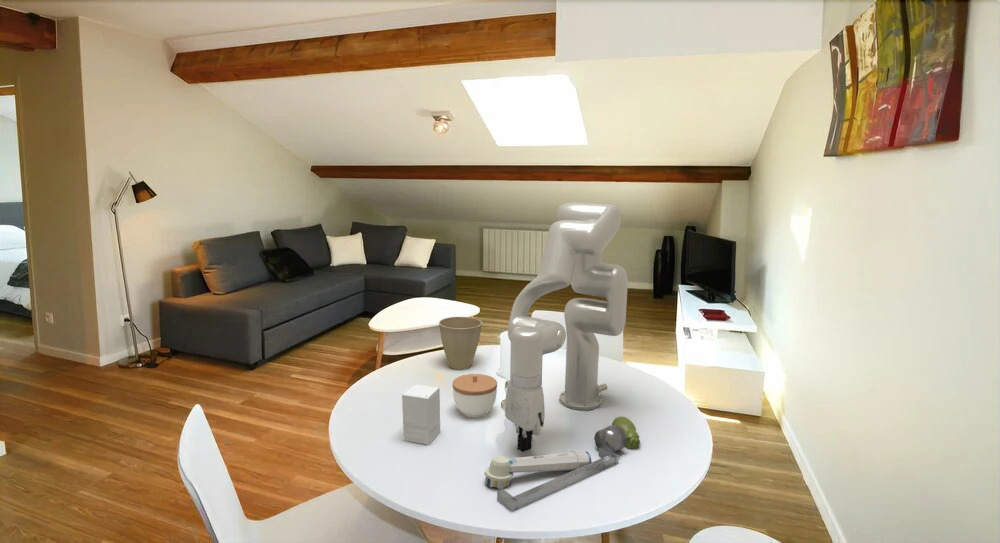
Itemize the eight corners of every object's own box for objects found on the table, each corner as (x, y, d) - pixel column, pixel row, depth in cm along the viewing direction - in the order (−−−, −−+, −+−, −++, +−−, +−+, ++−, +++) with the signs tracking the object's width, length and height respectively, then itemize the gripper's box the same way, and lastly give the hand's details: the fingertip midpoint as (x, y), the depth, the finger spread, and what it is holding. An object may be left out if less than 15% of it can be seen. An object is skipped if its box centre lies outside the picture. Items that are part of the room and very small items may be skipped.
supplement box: (441, 432, 142) (440, 387, 139) (428, 445, 135) (427, 398, 132) (416, 427, 144) (415, 383, 142) (402, 440, 137) (401, 394, 135)
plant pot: (464, 377, 179) (464, 331, 176) (430, 367, 187) (429, 323, 184) (490, 364, 191) (490, 320, 188) (456, 355, 199) (456, 314, 196)
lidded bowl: (476, 398, 162) (476, 364, 160) (506, 412, 153) (506, 376, 151) (443, 411, 154) (443, 375, 151) (472, 426, 145) (473, 388, 143)
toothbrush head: (594, 457, 123) (492, 461, 115) (589, 484, 124) (487, 490, 115) (583, 446, 128) (484, 449, 119) (578, 472, 129) (480, 477, 120)
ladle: (607, 443, 137) (608, 421, 136) (632, 456, 131) (633, 433, 130) (488, 492, 116) (489, 467, 114) (511, 511, 109) (512, 485, 108)
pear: (628, 411, 143) (647, 435, 134) (625, 428, 145) (644, 452, 136) (609, 413, 141) (627, 437, 132) (606, 430, 143) (624, 455, 134)
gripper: (494, 372, 131) (494, 441, 135) (534, 393, 119) (532, 468, 123) (518, 365, 136) (517, 432, 139) (559, 385, 124) (556, 458, 127)
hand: (524, 449), depth 131 cm, fingers closed
